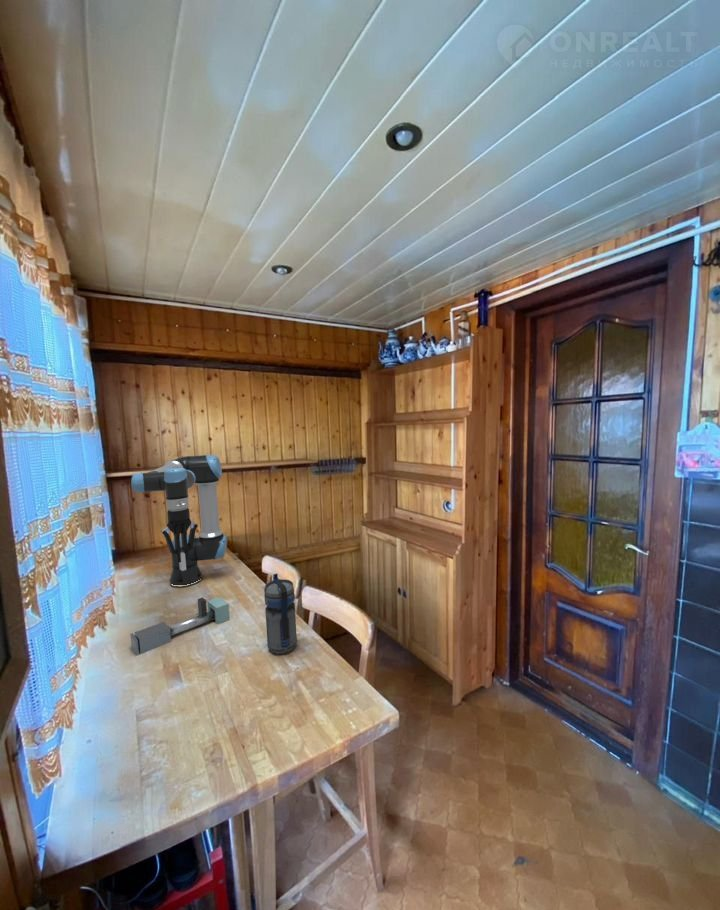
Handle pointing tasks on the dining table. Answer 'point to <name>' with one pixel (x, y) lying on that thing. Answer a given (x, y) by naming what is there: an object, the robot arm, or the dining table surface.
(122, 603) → the dining table surface
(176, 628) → the block with metal shaft
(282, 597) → the beverage bottle
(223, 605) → the pale blue rectangular block
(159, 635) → the outer sleeve
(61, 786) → the dining table surface
